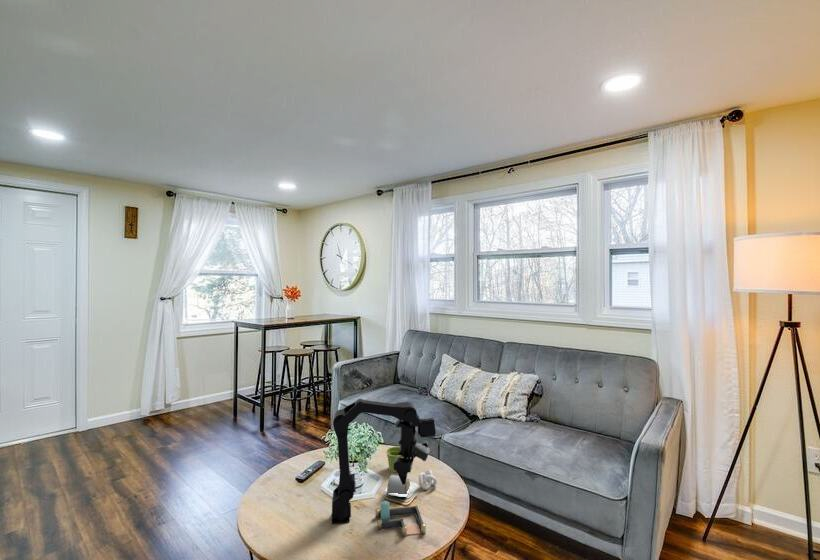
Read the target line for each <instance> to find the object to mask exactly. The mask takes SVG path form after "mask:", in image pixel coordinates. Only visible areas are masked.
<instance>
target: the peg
mask: <svg viewBox="0 0 820 560" xmlns="http://www.w3.org/2000/svg"><path fill="white" fill-rule="evenodd" d="M390 503H391V502H390V501H387V500H383V501H381V503H380V510H381V518H380V519H381V520H382V521H388V520H391V519H390V509H391V507H390V505H391V504H390Z"/></svg>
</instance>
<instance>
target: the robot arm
mask: <svg viewBox="0 0 820 560" xmlns="http://www.w3.org/2000/svg"><path fill="white" fill-rule="evenodd" d="M362 413H364V414H371V415H382V416H387V417H388V416H389V417H393V418H395V419H398V420H397V421H396V422H395V426H396V428H400V430H399V431H400V433H399V434H400V435H399V441H398V445H399V447H400V451H399V455H401V456H402V457H404V458H397V459H396V460H395V462H394V470H396V472H395V473H397V476H399V478H400V480H401V482H402V484H403V485H405V484H406V479H408V473H411V472H412V469H413V463H414V459H415V458H418V459H420V460H421V461H423V462H426V461H427V459H428V456H429V455H430V452H431V449H430V447H429V442H428V441H426V440H424V441H423V442H422V443H421V442H420V443H419V442H418V439H417V438H416V435H417V436H418V435H419V438H435V437H436V434H437V433H436V432H437V430H436V425H435V419H434V418H433V417H430V418H420V416H419V415H418V412H417V409H416V408H415V405H414V404H413V403H412V402H409V401H402V402H397V403H389V402H383V401H382V402H381V401H374V400H367V399H362V398H358V399H356V400H355V401H354V402H352V403H350V404H348V405H347V406H345V407H344V408H340V409H338V410H337V411H335V412H334V415H333V420H332V426H333V429H334V433H335V436H336V438H337V452H338V453H337V454H338V467H339V468H338V469H339V480H338V485H337V486H336V488H334V489H333V490H332V500H331V524H332V525H336V524H337V525H338V524H344V523H345V524H346V523H350V522H351V521H350V520H351V519H350V518H351V516H352V506H351V505H352V504H351V502H350V501H351V500H352V499H353V498H354V495H355V493H356V492H357V491H356V479H355V478H356V476H355V475H356V474H355V473H352V472H351V469H350V467H351V466H350V456H349V455H350V454H349V440H348V438H349V437H348V434H349V425H350V424H351V423H352V422H353V421H354V420H355V419H357V417H358V416H359V415H361V414H362Z"/></svg>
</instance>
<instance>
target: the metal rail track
mask: <svg viewBox="0 0 820 560" xmlns="http://www.w3.org/2000/svg"><path fill="white" fill-rule="evenodd" d="M374 514H375V516H374V517H375V519H377V523H376V524H377V525H376V526H377V529H376V530H377V531H379V532H380V531H383V530H390V529H397V528H401V537H402V538H407V536H408V535H407V527H406V526H405V523H404V522H405V521H404V519H403V518H398V519H390V520H388V521H382V520H381V508H379V507H377V508H375V512H374ZM408 515H415V516H416V518H417V520H416V521H417V522H418V523H417V524H418V526H419V529H420V532H421V535H422V536H425V535H426V533H427V532H426V531H427V530H426V529H427V528H426V526H427V525H426V523H424V521H423V517H422V515H421V513H420V509H419V507H418V505H413V506H404V507H403V506H402V507H394V508H390V517H399V516H408Z"/></svg>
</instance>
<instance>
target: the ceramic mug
mask: <svg viewBox="0 0 820 560" xmlns="http://www.w3.org/2000/svg"><path fill="white" fill-rule="evenodd" d="M409 487H411V481H410V479H409V478H407V479H406V484H405V485H403V484H402V482H401V480H400V478H399V476H398V475H394V474H391V475H390V476H389V478H388V481H387V487H386V489H387V491H386V494H387V493H398V494H407V491H408V489H409ZM409 490H410V489H409Z"/></svg>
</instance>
